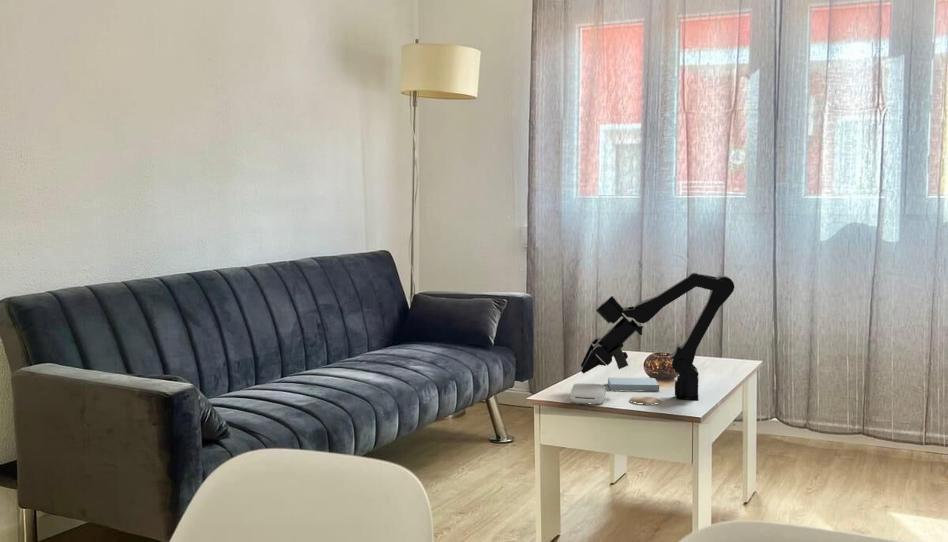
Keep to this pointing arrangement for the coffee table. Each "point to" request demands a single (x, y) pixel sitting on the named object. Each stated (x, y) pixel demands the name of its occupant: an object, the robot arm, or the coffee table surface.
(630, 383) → the pale blue flat block
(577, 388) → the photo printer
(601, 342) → the robot arm
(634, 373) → the coffee table surface
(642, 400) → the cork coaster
